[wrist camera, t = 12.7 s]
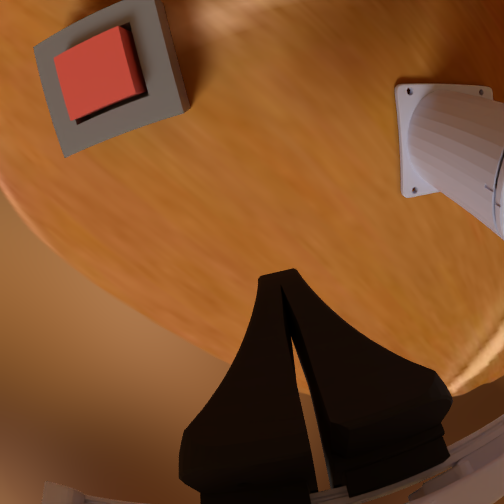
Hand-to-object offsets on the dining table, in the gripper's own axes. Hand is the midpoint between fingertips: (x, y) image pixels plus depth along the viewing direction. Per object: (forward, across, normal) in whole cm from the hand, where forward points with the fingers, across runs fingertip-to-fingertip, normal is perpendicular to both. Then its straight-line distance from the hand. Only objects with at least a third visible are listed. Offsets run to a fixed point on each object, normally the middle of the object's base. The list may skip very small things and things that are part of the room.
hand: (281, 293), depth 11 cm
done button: (+8, +6, -10) cm, 14 cm away
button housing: (+9, +6, -10) cm, 15 cm away
